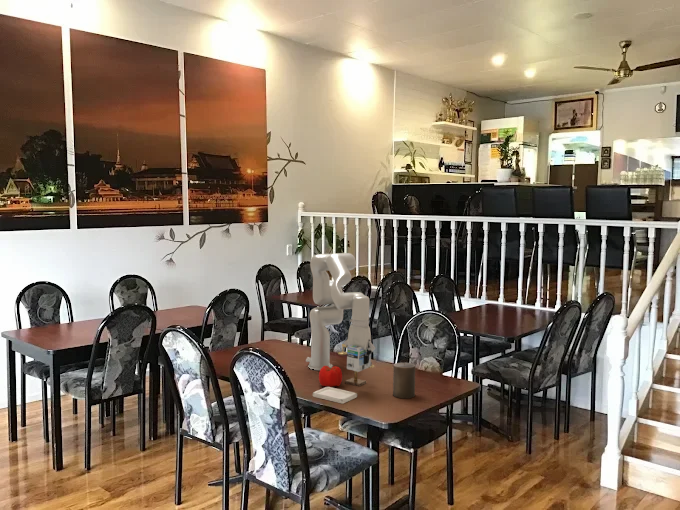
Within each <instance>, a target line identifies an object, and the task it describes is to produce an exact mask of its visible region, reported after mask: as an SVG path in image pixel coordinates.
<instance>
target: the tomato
mask: <svg viewBox="0 0 680 510" xmlns="http://www.w3.org/2000/svg"><path fill="white" fill-rule="evenodd" d="M342 381H343V371H342V369H341V368H340V367H339V366H335V365H333V366H332V368H329V367H328V366H323V367H322V368H321V369H320V370H319V372H318V382H319V384H320V385H321V386H322V387H324V386H325V387H332V388H335V387H340V385H341V384H342V383H343V382H342ZM325 387H324V388H325Z"/></svg>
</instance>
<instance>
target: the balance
mask: <svg viewBox="0 0 680 510" xmlns="http://www.w3.org/2000/svg"><path fill="white" fill-rule="evenodd" d="M341 346H342V347H341V349H342V351H337V354H338V356H339V355H340V356H344V355H347V351H344V348H346V349H347V347H346V345H345V344H344V343H342V344H341ZM375 367H376V366H375V365H374V364H373V362H372V361H371V367H369V368H368V369H373V368H375ZM358 373H359V372H357V371H353V377H351V378H349V379H346V380H344V384H346V383H347V384H346V385H351V384H352V385H351V386H355V385H356V387H361V386H363V385H366V384H367V380H363V379H360V378H358Z"/></svg>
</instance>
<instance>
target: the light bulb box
mask: <svg viewBox="0 0 680 510" xmlns="http://www.w3.org/2000/svg"><path fill="white" fill-rule="evenodd" d="M370 349H371V348H369V350H370ZM346 352H347V356H346V370H350V371H353V372H354V371H357V372H358V373H359V372H362V371H364V370H366V369H370V368H369V367H371V362H372V353H371V354H370V355H369V363H367V364H364V355H365V353H364V350H362V347H358V346H354V345H349V346H347V348H346Z"/></svg>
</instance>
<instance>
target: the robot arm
mask: <svg viewBox="0 0 680 510" xmlns="http://www.w3.org/2000/svg"><path fill="white" fill-rule="evenodd" d="M309 263H310V264H309V265H310V271H311V274H312V299H313V303H314V304H316V305H321V306H318V307H317V306H316V307H314V308H312V309H311V310H310V312H309V321H310V331H311V333H310V335H311V336H310V338H311V339H310V342H311V343H310V344H311V345H310V346H311V347H310V348H311V349H310V351H311V352H310V355H311V356H310V357H309V356H307V357H306V359H305V363H309V364H308V366H307V368H308V367H309V368H310V370H312V369H314V370H313V371H320V369H321V368H322V367H323V366H328V367H329V368H332V367H333V364H332V363H330V357H331V355H330V353H331V352H330V350H331V349H330V348H331V347H330V346H331V344H330V341H331V338H330V337H331V336H330V331H329V330H328V328H327V327H326V326H331V325H332V326H333V325H340V324H342V321H343V319H344V310H351V318H350V319H349V322H350V323H351V324H350V326H349V329H348V334H347V339H346V340H345V341H344V342H343V344H345V345H346V347H347V346H349V345H354V346H358V347H362V350H364V353H365V355H364V364H367V363H369V355H370V354H371V355H372V353H373V352H374V351H375V350H376V347H375V346H374V344H373V343H372V335H371V328H370V326H369V324H370V298H369V296H367V295H364V293H363V292H361V291H359V292H358V291H357V292H353V291H352V292H351V291H350V292H343V291H344V290H343V288H342V287H345V286H347V284H349V283H350V282H351V280H352V274H351V272H350V271H352V270H354V269H355V268H356V266H357V261H356V257H355V255H353V254H352V253H351V252H343V253H342V252H337V253H335V252H334V253H318V254H314V255H313V256H311V259H310V262H309ZM327 271H329V273H330V275H331V277H332V280H333V281H332V284H330V275H329V273H328V272H327ZM322 305H331V306H322ZM346 347H345V348H346ZM369 348H371V349H370V350H369ZM309 368H308V369H309Z"/></svg>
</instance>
